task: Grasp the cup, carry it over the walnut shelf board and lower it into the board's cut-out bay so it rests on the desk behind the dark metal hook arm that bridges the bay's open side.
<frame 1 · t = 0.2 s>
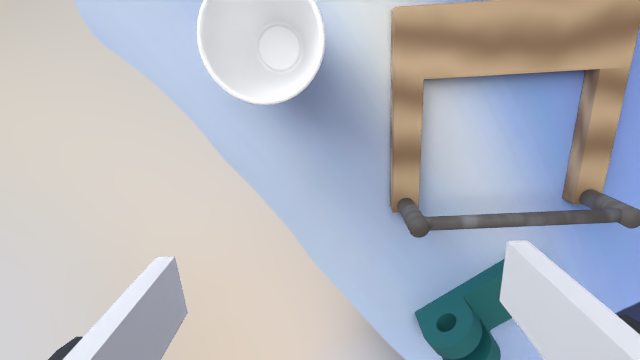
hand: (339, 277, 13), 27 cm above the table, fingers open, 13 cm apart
bracket: (482, 293, 46), on the table
shelf board: (497, 111, 37), on the table
cup: (280, 48, 36), on the table
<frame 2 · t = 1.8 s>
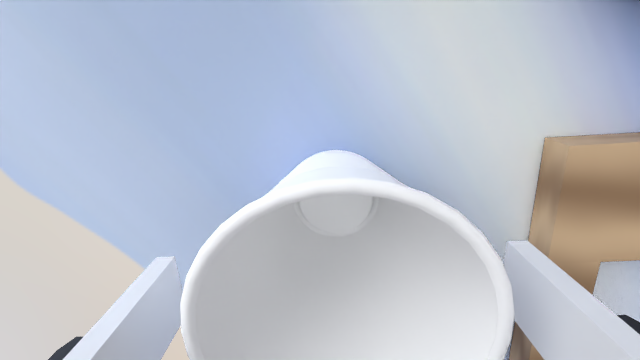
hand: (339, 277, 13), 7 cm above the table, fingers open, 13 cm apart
cup: (335, 196, 20), on the table
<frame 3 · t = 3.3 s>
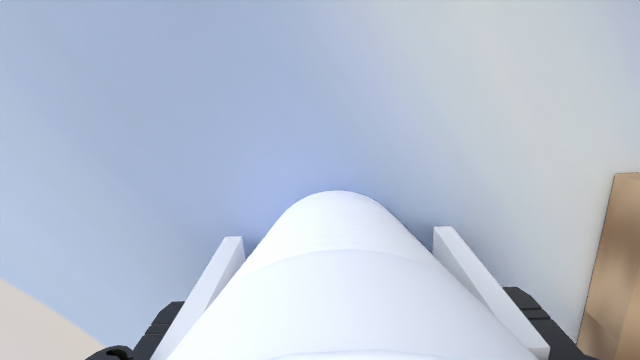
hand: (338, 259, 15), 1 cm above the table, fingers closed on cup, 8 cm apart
cup: (336, 247, 16), on the table, touching gripper
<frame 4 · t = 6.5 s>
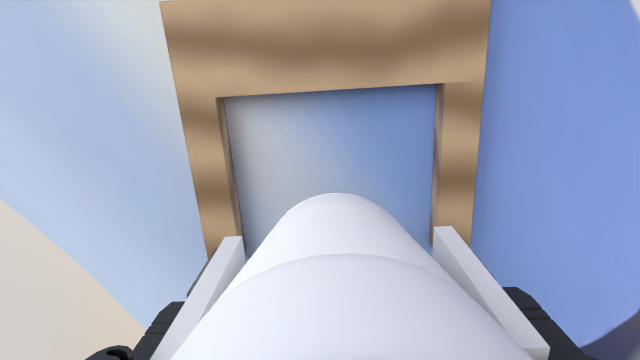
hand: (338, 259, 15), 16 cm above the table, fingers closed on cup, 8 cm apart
shelf board: (330, 136, 29), on the table
cup: (336, 249, 16), point 15 cm above the table, touching gripper
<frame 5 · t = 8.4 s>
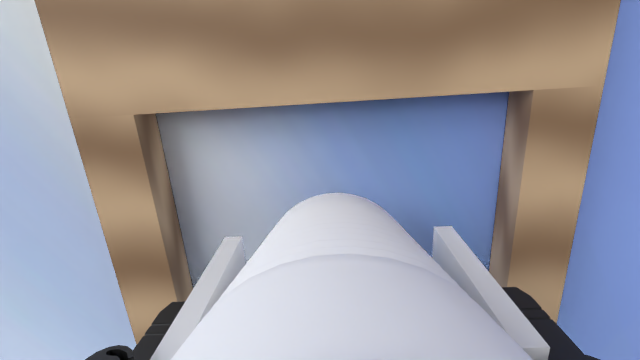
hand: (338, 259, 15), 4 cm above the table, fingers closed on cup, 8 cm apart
shelf board: (332, 174, 18), on the table
cup: (336, 249, 16), point 3 cm above the table, touching gripper
when the fingers open (3 cm above the table, at t = 9.7 s): cup drops 2 cm, on the table.
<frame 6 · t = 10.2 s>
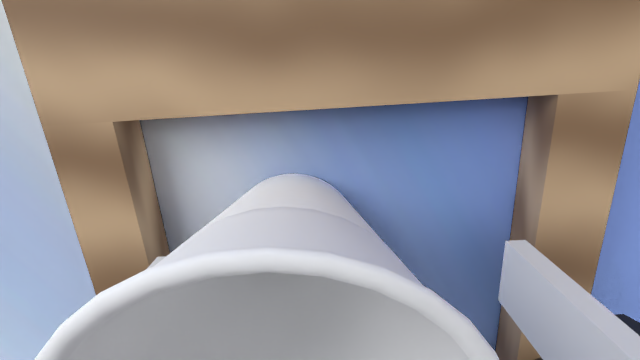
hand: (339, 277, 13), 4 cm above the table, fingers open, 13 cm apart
shelf board: (333, 185, 16), on the table
cup: (294, 226, 17), on the table, touching gripper
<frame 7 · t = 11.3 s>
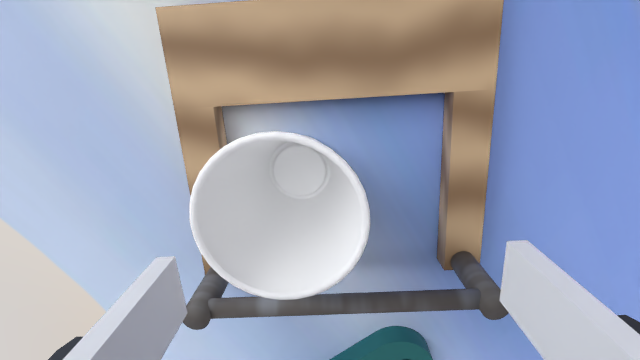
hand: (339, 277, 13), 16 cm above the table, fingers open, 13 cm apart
shelf board: (333, 146, 28), on the table
cup: (300, 169, 29), on the table
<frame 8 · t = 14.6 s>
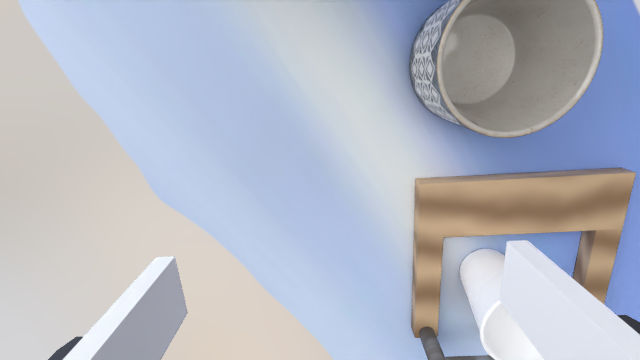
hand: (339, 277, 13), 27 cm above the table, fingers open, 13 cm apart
shelf board: (506, 254, 43), on the table
planter: (464, 61, 36), on the table
cup: (481, 266, 44), on the table
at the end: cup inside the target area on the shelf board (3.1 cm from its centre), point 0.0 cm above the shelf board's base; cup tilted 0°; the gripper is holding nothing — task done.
